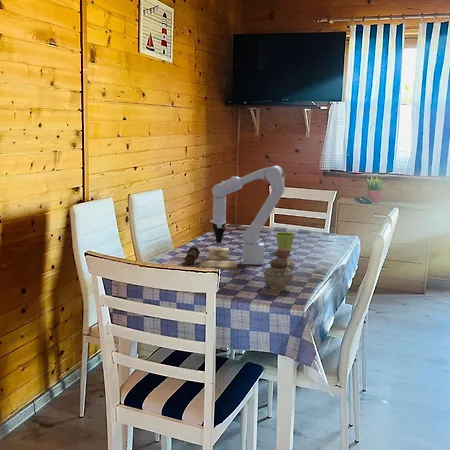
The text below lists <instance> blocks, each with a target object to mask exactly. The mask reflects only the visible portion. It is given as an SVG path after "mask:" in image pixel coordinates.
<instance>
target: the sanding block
mask: <svg viewBox="0 0 450 450" xmlns="http://www.w3.org/2000/svg"><path fill="white" fill-rule="evenodd" d="M207 260H212V261H230V248H229V247H213V246H212V247H210V246H209V247H208V259H207Z"/></svg>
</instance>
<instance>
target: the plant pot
mask: <svg viewBox="0 0 450 450" xmlns="http://www.w3.org/2000/svg"><path fill="white" fill-rule="evenodd" d="M274 235H275V237H276V244H277V248H288V249H289V253H291V252H292V247H293V241H294V238H295V236H296V234H295V233H293V232H285V231H284V232H283V231H282V232H281V231H279V232H275V234H274Z"/></svg>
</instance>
